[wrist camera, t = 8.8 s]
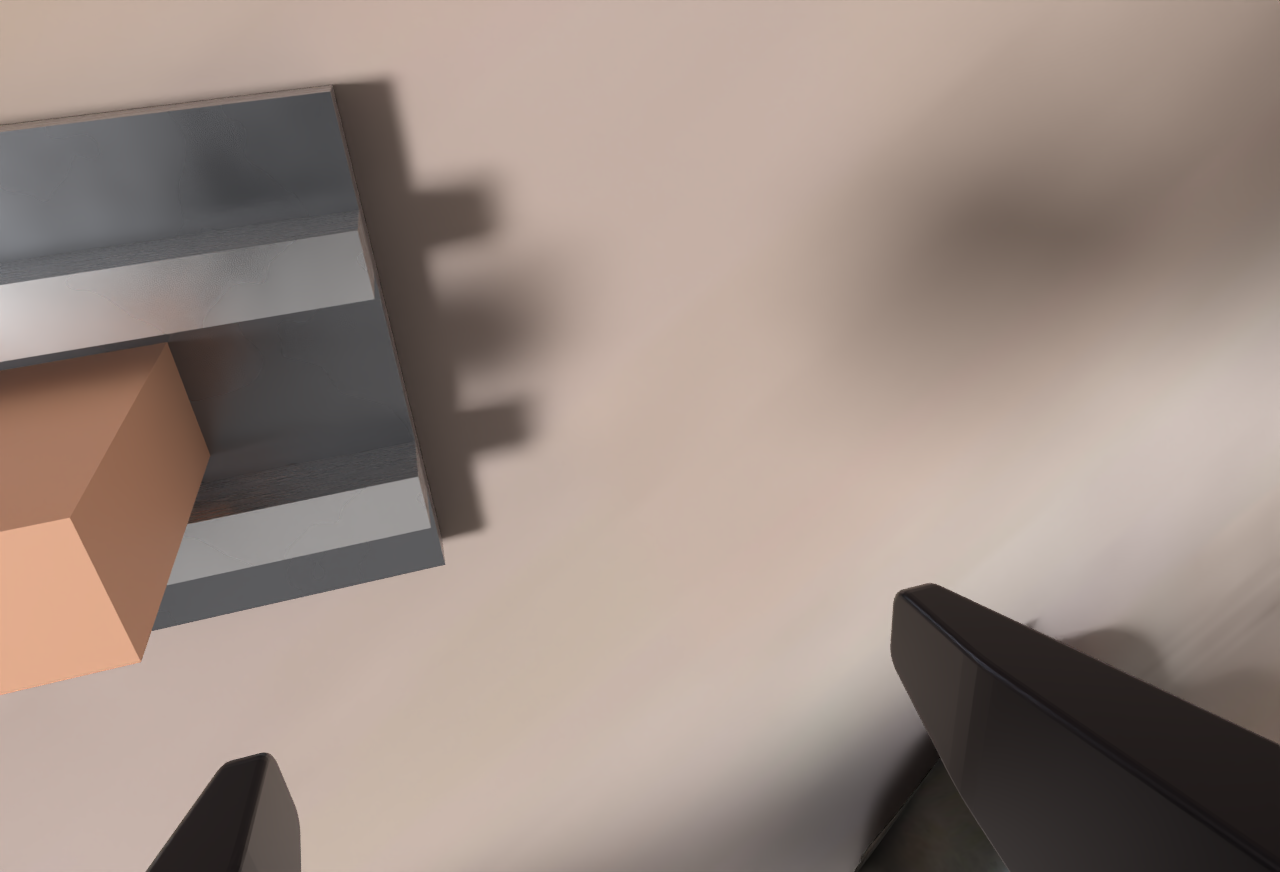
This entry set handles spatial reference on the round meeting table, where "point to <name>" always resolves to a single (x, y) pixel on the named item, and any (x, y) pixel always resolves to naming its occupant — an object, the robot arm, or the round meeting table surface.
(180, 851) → the robot arm
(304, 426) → the track base
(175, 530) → the tan flat rectangular block
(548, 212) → the round meeting table surface
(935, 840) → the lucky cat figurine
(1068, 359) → the round meeting table surface
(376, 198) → the round meeting table surface
